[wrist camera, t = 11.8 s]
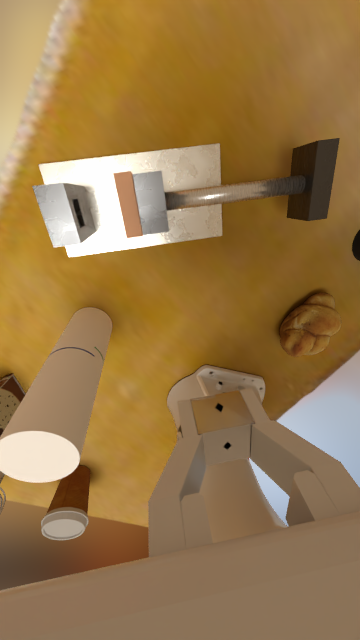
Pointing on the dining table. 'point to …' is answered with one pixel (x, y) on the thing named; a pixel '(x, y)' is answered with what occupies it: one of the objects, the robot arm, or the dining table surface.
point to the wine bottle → (356, 246)
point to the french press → (0, 477)
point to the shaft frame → (150, 184)
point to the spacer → (128, 204)
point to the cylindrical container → (58, 404)
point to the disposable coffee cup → (68, 507)
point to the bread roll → (310, 326)
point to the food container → (9, 399)
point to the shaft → (277, 185)
